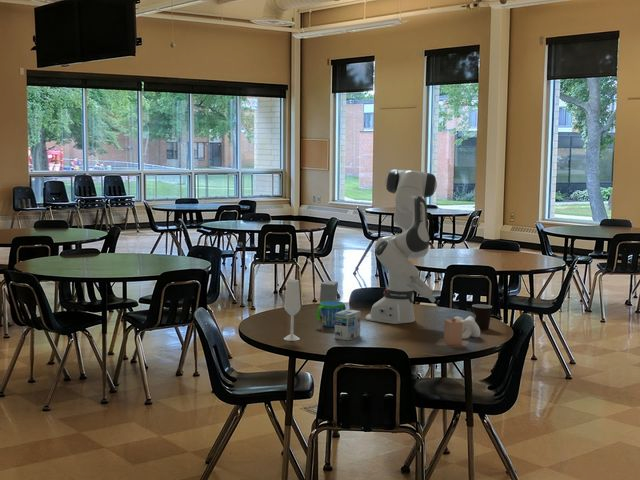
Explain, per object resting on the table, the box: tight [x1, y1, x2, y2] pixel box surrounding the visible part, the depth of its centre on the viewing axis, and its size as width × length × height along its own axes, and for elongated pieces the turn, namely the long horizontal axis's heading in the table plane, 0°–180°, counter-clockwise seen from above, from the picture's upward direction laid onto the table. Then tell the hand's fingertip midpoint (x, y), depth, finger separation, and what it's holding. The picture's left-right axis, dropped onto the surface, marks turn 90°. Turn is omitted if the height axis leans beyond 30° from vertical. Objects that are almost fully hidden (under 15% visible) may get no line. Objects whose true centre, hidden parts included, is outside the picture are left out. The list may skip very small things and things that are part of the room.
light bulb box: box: [334, 308, 362, 341], centre depth 346 cm, size 11×7×11 cm, turn 148°
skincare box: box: [319, 280, 339, 318], centre depth 388 cm, size 8×7×16 cm
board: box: [435, 337, 471, 349], centre depth 337 cm, size 12×12×1 cm
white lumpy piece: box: [453, 315, 481, 340], centre depth 349 cm, size 11×12×9 cm
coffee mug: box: [471, 303, 493, 331], centre depth 370 cm, size 12×9×10 cm
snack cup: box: [315, 300, 347, 328], centre depth 367 cm, size 16×10×10 cm
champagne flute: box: [283, 279, 302, 342], centre depth 341 cm, size 7×7×24 cm
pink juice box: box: [443, 317, 463, 345], centre depth 336 cm, size 5×6×10 cm
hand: (430, 298), depth 333 cm, fingers open, 8 cm apart
